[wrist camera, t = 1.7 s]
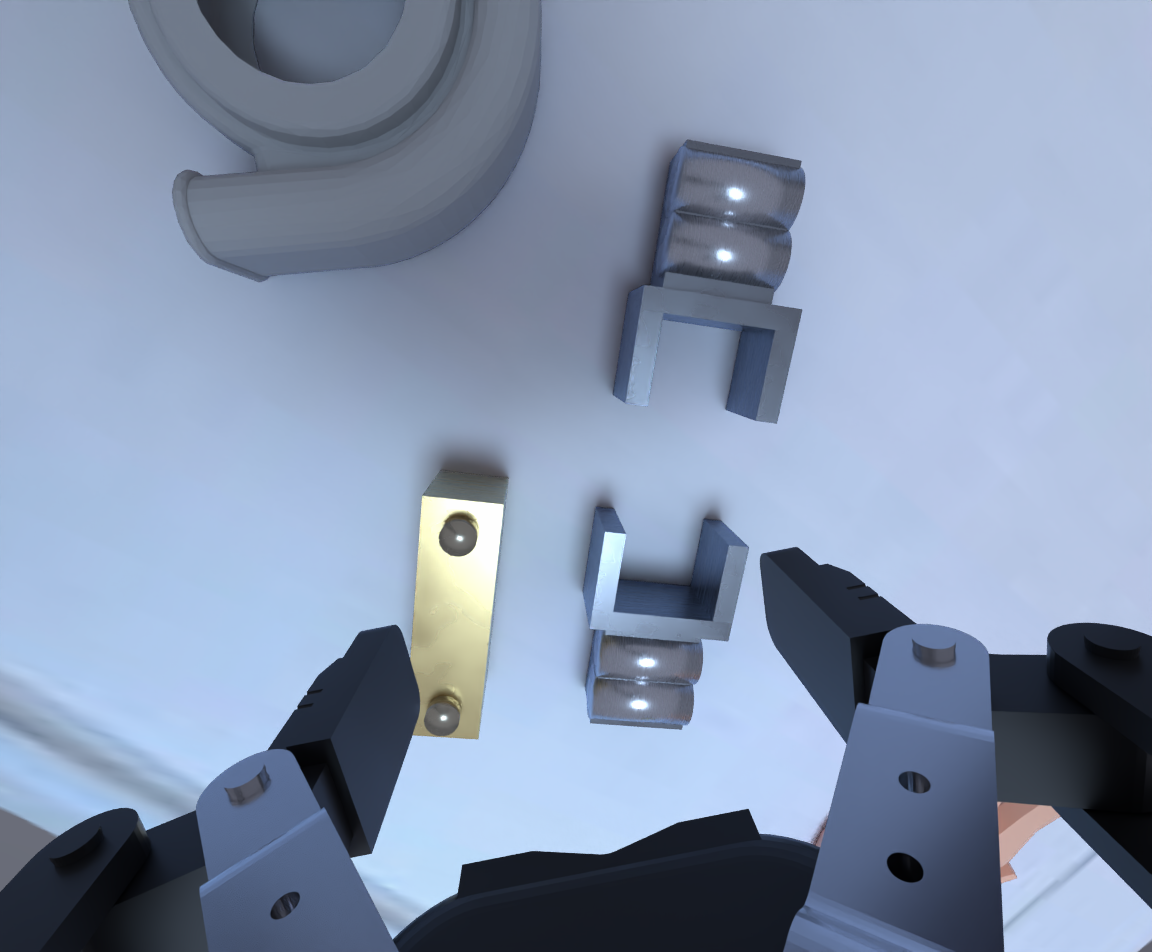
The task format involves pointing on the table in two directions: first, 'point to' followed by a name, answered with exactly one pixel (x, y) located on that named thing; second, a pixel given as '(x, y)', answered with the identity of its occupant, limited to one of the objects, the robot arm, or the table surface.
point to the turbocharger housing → (349, 133)
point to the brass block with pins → (456, 600)
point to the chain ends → (743, 303)
